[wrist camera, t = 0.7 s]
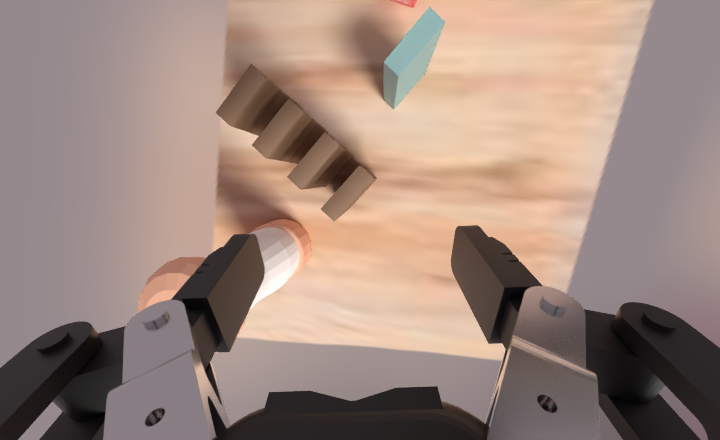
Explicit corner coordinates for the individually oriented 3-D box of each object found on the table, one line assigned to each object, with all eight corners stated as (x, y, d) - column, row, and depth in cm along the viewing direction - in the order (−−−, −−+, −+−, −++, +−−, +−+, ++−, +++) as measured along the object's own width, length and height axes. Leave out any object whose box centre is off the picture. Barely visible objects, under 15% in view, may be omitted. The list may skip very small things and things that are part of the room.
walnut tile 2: (376, 178, 32) (373, 178, 22) (349, 208, 33) (334, 221, 23) (367, 169, 32) (359, 165, 22) (339, 199, 33) (320, 208, 23)
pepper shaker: (251, 224, 34) (87, 281, 15) (304, 213, 33) (200, 259, 14) (265, 277, 35) (127, 391, 16) (317, 268, 34) (236, 377, 15)
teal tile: (424, 74, 30) (445, 22, 20) (393, 109, 30) (398, 76, 21) (414, 64, 29) (429, 6, 20) (383, 99, 30) (383, 61, 20)
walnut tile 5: (303, 109, 31) (266, 77, 21) (277, 141, 32) (230, 125, 22) (293, 100, 31) (251, 64, 21) (267, 132, 32) (215, 112, 22)
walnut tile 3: (353, 155, 32) (339, 145, 22) (326, 186, 32) (300, 189, 23) (343, 146, 32) (324, 131, 22) (316, 177, 32) (287, 176, 23)
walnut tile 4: (328, 132, 31) (303, 111, 22) (301, 164, 32) (265, 158, 22) (318, 123, 31) (288, 98, 22) (291, 155, 32) (251, 145, 22)
